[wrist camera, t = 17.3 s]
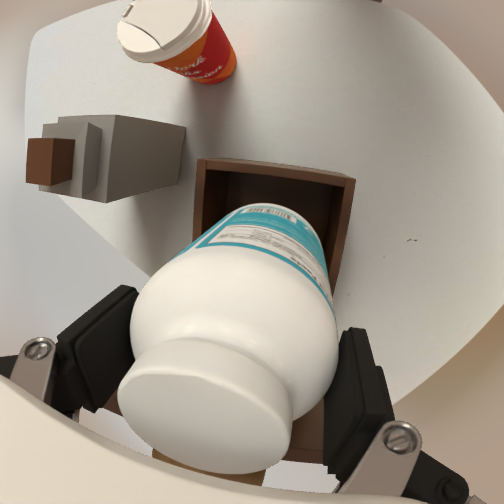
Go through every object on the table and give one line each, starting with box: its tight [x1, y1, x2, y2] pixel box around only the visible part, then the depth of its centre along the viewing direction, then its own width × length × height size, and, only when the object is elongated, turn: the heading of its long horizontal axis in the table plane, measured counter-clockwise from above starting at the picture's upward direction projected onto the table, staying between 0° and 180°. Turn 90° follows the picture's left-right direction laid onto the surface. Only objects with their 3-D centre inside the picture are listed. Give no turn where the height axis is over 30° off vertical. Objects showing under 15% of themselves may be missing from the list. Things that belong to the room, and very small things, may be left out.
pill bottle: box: [117, 203, 339, 474], centre depth 12 cm, size 8×7×14 cm
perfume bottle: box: [26, 115, 186, 203], centre depth 23 cm, size 7×7×18 cm
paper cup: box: [117, 0, 236, 85], centre depth 20 cm, size 8×8×14 cm
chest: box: [192, 158, 356, 298], centre depth 28 cm, size 16×13×9 cm
